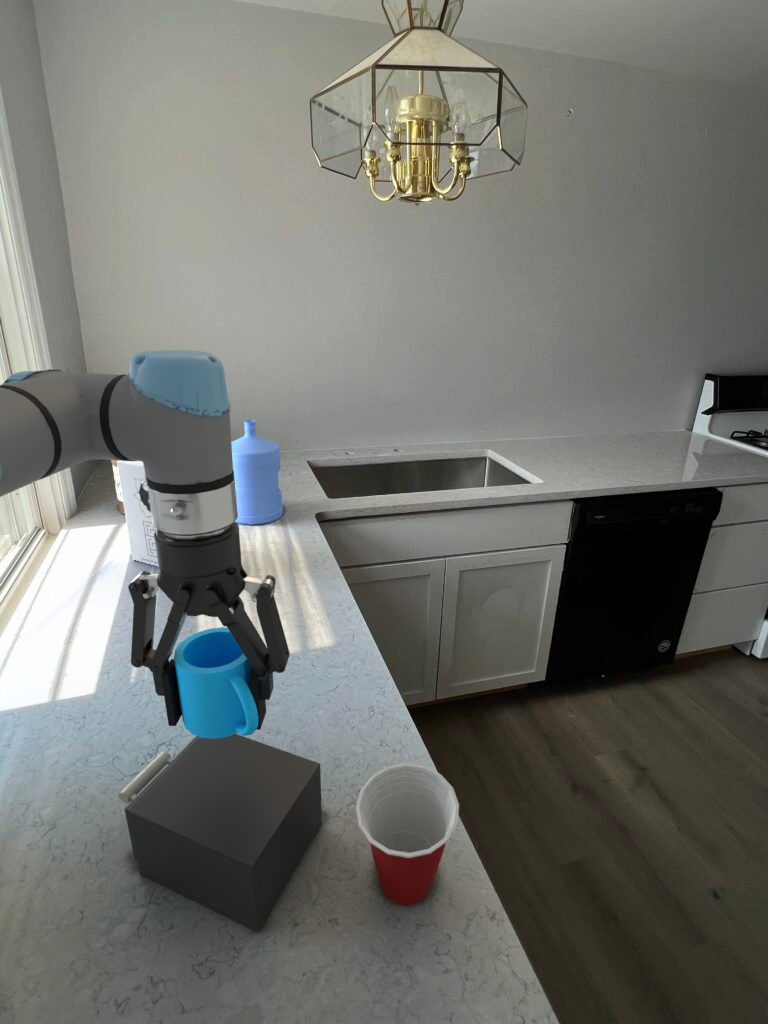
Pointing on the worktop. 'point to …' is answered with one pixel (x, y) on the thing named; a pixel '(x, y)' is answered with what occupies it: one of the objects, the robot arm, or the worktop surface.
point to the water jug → (256, 477)
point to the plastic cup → (407, 827)
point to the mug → (215, 685)
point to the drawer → (147, 781)
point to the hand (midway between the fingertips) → (218, 718)
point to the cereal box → (137, 511)
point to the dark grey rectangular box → (228, 825)
